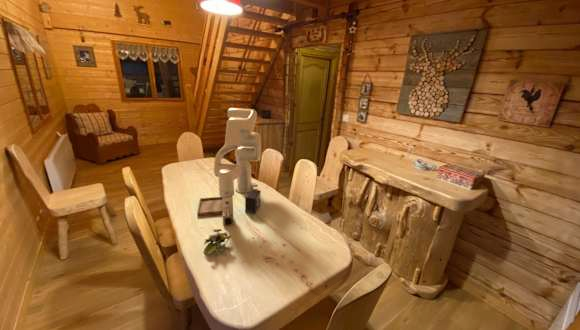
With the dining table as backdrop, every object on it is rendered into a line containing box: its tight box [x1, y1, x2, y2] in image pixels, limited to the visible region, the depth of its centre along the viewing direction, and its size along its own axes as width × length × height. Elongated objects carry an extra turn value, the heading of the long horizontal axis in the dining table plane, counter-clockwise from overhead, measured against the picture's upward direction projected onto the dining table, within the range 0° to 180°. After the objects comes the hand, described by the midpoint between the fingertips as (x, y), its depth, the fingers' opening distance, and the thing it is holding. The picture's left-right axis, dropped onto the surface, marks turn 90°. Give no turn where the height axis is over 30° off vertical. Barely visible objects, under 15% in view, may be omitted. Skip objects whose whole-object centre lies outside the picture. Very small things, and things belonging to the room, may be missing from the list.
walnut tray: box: [196, 196, 223, 217], centre depth 144 cm, size 16×18×2 cm
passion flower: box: [203, 228, 232, 255], centre depth 109 cm, size 11×11×12 cm
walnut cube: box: [222, 211, 235, 226], centre depth 131 cm, size 6×6×6 cm
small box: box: [244, 189, 262, 215], centre depth 143 cm, size 11×6×10 cm, turn 168°
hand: (228, 220), depth 131 cm, fingers closed on walnut cube, 5 cm apart
